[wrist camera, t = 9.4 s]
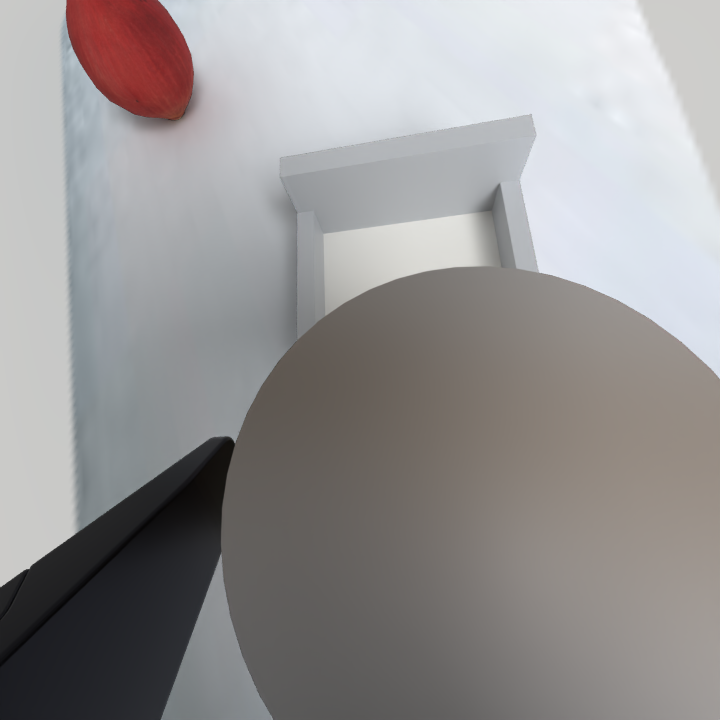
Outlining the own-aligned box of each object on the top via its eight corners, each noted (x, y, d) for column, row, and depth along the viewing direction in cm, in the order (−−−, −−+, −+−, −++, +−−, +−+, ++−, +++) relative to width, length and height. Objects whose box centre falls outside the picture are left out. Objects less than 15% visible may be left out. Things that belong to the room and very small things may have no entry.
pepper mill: (490, 541, 13) (1019, 1180, 2) (360, 519, 14) (103, 825, 2) (494, 409, 14) (813, 232, 3) (374, 397, 15) (244, 225, 4)
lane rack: (569, 575, 13) (656, 643, 9) (317, 576, 15) (270, 634, 10) (500, 205, 18) (531, 114, 13) (313, 231, 19) (280, 157, 14)
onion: (157, 81, 25) (42, -85, 17) (229, 82, 24) (139, -96, 16) (127, 148, 23) (-12, -1, 16) (201, 152, 22) (90, -6, 15)
